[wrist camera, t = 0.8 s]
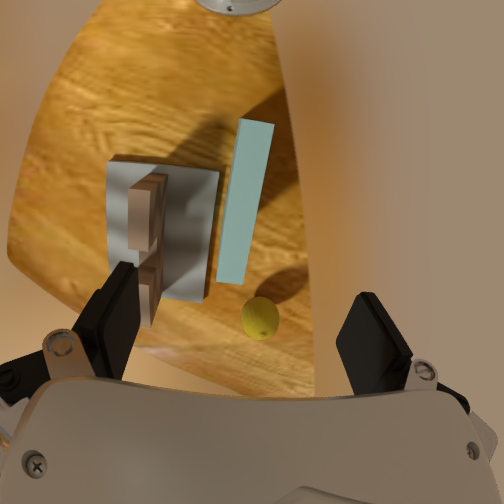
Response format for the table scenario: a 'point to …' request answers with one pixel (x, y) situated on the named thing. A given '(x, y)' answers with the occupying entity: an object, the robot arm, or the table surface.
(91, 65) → the table surface
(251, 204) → the notched plate
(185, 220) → the base
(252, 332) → the lemon
